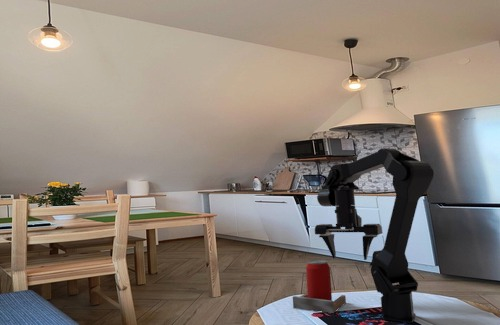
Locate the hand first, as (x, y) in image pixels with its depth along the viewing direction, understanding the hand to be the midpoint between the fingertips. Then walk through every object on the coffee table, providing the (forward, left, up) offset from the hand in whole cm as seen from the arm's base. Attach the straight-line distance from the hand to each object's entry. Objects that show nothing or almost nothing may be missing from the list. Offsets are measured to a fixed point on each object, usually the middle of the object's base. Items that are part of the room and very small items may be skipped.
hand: (349, 259), depth 97 cm
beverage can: (+7, +8, -12) cm, 16 cm away
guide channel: (+7, +8, -12) cm, 16 cm away
